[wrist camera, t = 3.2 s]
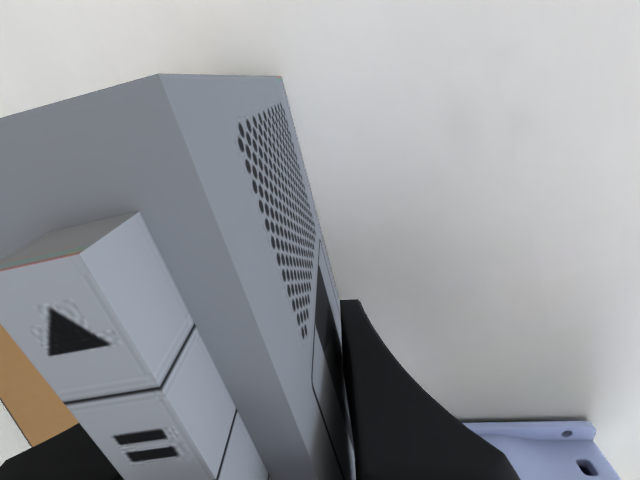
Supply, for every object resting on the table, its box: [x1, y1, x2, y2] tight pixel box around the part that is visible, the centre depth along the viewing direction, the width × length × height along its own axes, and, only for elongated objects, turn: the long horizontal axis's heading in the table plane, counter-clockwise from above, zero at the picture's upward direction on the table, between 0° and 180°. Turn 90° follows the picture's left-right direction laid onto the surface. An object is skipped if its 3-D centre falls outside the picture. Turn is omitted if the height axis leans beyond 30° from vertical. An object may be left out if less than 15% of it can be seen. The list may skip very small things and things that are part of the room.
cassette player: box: [0, 74, 356, 480], centre depth 10 cm, size 16×3×10 cm, turn 13°
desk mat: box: [0, 324, 79, 447], centre depth 18 cm, size 13×20×1 cm, turn 3°
